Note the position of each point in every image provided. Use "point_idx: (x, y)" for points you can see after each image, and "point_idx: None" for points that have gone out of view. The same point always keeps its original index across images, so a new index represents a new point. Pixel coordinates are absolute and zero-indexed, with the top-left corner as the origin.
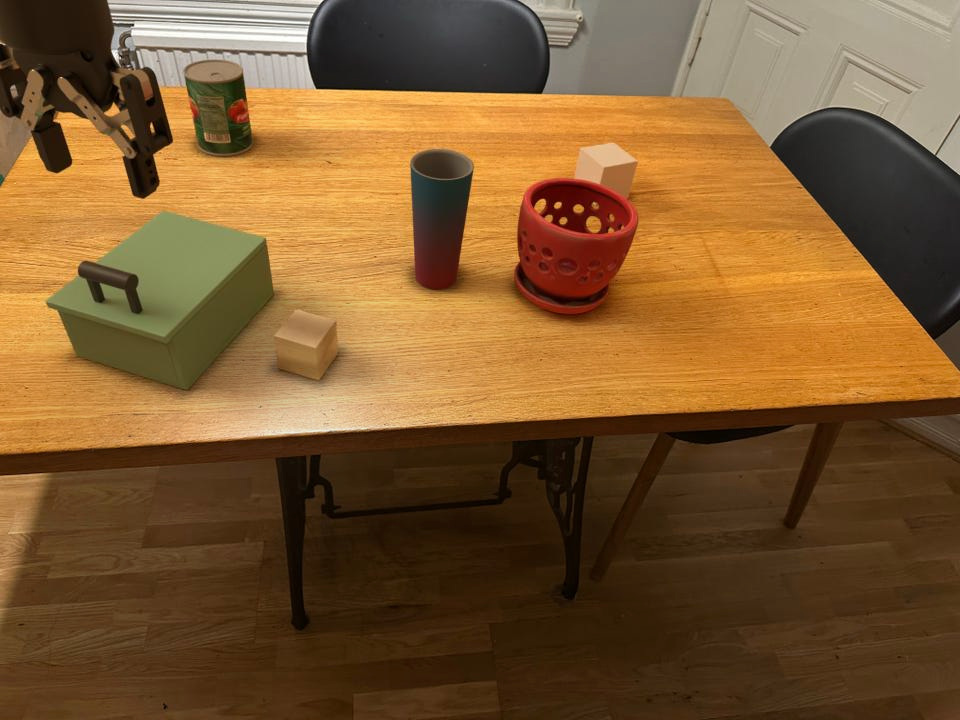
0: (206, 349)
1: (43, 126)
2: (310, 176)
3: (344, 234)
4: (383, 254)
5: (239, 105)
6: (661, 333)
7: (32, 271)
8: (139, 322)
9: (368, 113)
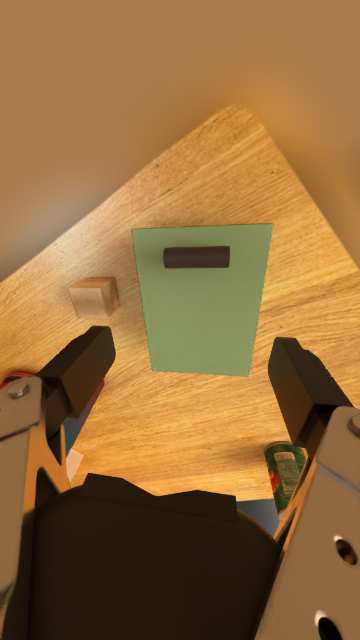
0: None
1: (316, 427)
2: (212, 436)
3: (160, 397)
4: (129, 388)
5: (273, 486)
6: None
7: (352, 301)
8: (164, 237)
9: (214, 486)
